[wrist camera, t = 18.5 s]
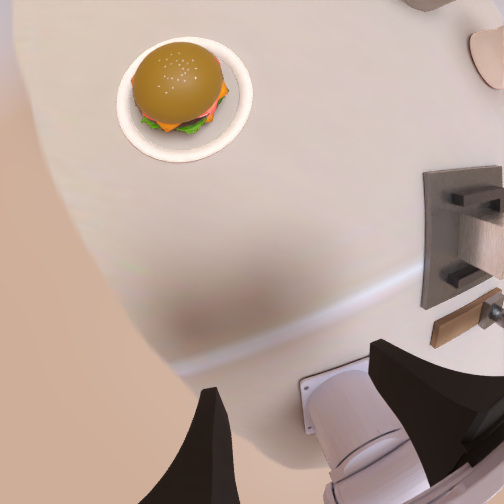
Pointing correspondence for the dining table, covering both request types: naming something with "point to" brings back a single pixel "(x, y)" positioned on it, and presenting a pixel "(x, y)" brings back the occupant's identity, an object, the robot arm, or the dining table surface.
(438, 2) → the cup
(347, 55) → the dining table surface
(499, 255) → the block
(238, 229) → the dining table surface
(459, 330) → the rail
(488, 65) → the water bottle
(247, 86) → the burger on plate
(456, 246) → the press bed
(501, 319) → the lever
